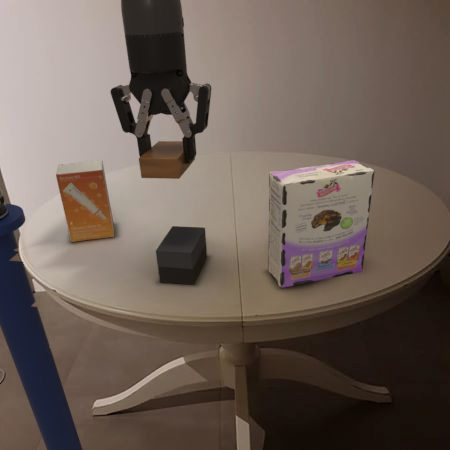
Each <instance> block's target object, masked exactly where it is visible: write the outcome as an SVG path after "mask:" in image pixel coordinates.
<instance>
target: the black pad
mask: <svg viewBox="0 0 450 450" xmlns="http://www.w3.org/2000/svg"><path fill="white" fill-rule="evenodd" d="M207 259H208V251H207V243H206V244H205V246H204V248H203V250H202V252H201V254H200V256H199V258H198V260H197V262H196V264H195V266H194V268H193V269H186V268H169V267H158V266H157V270H158V276H159V283H164V284H178V285H179V284H180V285H192V286H193V285H196V282H197V280H198V278H199V276H200V273H201V272H202V269H203V267H204V265H205V263H206V261H207Z"/></svg>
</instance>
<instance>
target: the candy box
mask: <svg viewBox="0 0 450 450" xmlns="http://www.w3.org/2000/svg"><path fill="white" fill-rule="evenodd" d="M375 173H376V172H375V170H374V169H373V168H371V167H369V166H367V165H365V164H363V163H361V162H359V161H358V160H355V159H353V160H347V161H341V162H334V163H327V164H320V165H312V166H307V167H299V168H292V169H284V170H277V171H269V174H268V181H269V182H268V259H267V260H268V263H267V264H268V265H267V267H268V272H269V273H270V275H271V278H272V279H273V280H274V281H275V283H276V284H277V285H278V287H279V288H283V289H284V288H289V287H295V286H299V285H303V284H310V283H314V282H319V281H325V280H328V279H333V278H334V279H335V278H339V277H342V276H347V275H354V274H357V273H362V272H363V269H364V260H365V251H366V244H367V236H368V235H367V234H368V228H369V220H370V219H369V218H370V211H371V203H372V196H373V195H372V194H373V186H374V180H375V179H374V178H375Z"/></svg>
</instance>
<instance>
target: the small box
mask: <svg viewBox="0 0 450 450" xmlns="http://www.w3.org/2000/svg"><path fill="white" fill-rule="evenodd" d="M55 177H56V182H57V187H58V190H59V195H60V199H61V203H62V208H63V212H64V217H65V221H66V225H67V230H68V234H69V239H70V242H71V243H76V242H82V241H90V240H98V239H106V238H115V227H114V218H113V213H112V212H113V211H112V208H111V207H112V205H111V201H110V196H109V191H108V184H107V179H106V178H107V177H106V173H105V167H104V161H103V159H99V160H89V161H88V160H87V161H77V162H71V163H61V164H57V166H56V173H55Z"/></svg>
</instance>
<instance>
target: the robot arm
mask: <svg viewBox="0 0 450 450" xmlns="http://www.w3.org/2000/svg"><path fill="white" fill-rule="evenodd" d="M120 9H121V19H122V25H123V32H124V39H125V47H126V54H127V61H128V68H129V72H130V80H129V84H125V85H122V84H119V85H117V86H114V87H112V88H111V89H110V96H111V99H112V102H113V105H114V108H115V111H116V114H117V117H118V121H119V123H120V126H121V130H122V131H123V132H124V133H125V134H128V133H129V134H132V135H133V136H135V138H136V143H137V150H138V156H139V158H140V157H141V156H142V155H143V154H144V153H146V152H147V151H148V150H149V149H150V148H151V147H153V145H152V139H151V134H150V133H148V132H149V129H150V126H151V122H152V119H153V117H154V116H157V115H160V114H162V115H166V116H172V117H173V119H174V122H175V123H177V125H178V127H179V128H180V130H181V133H182V134H183V137H182V138H181V140H182V141H183V152H184V158H185V164H190V163H191V162H192V161H193V159H194V158H195V159H196V157H197V145H196V144H197V142H196V135H197V134H202V133H203V132H204V131H205V130H207V128H208V126H209V115H210V108H211V107H210V106H211V97H212V86H211V84H210V83H204V84H200V83H194V82H192V80H191V79H190V77H189V75H188V68H187V67H188V66H187V55H186V44H185V31H184V29H185V28H184V27H185V22H184V21H185V20H184V16H183V6H182V1H181V0H120ZM190 93H192V96H193V100H194V102H196V103H197V105H196V115H195V123H194V122H193V119H192V118H191V113H190V110H189V109H188V107H187V104H186V103H185V102H186V100H187V98H188V96H189V94H190ZM131 95H132V96H133V97H134V99H135V100H136V101H137V102H138V103H139V104H140V105H139V109H138V113H137V117H136V119H135V117H134V113H133V110H132V107H131V104H130V101H131V99H132V96H131ZM136 120H137V121H136ZM193 162H194V161H193ZM6 204H7V203H6V200H5V196H4V194H3V191H2V189H1V187H0V220H2V219H4V218H5V217H7V216H8V214H9V212H8V209H7V208H6Z"/></svg>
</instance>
